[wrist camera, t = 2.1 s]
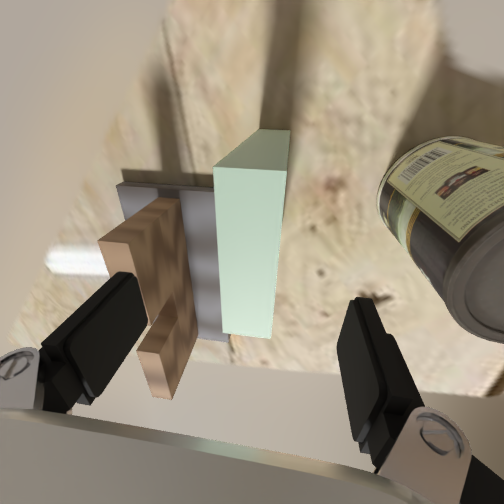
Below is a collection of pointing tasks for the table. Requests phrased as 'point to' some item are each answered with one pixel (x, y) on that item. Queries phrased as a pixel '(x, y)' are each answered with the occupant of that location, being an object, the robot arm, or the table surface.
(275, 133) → the green slat
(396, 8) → the table surface
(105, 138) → the table surface
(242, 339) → the table surface
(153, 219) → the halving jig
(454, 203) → the coffee can
